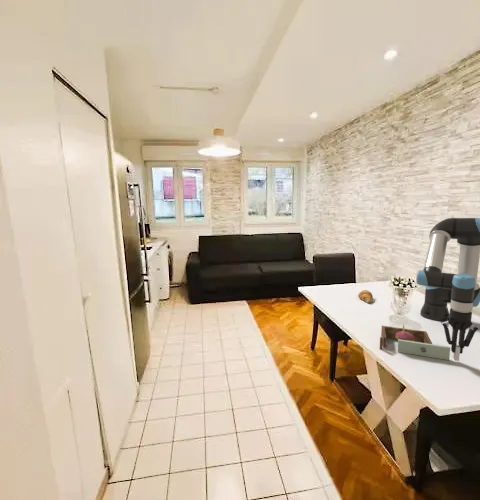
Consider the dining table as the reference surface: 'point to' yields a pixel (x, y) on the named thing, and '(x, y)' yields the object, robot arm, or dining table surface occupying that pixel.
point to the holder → (391, 331)
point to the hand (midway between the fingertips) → (455, 359)
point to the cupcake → (405, 335)
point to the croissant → (365, 296)
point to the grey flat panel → (424, 349)
